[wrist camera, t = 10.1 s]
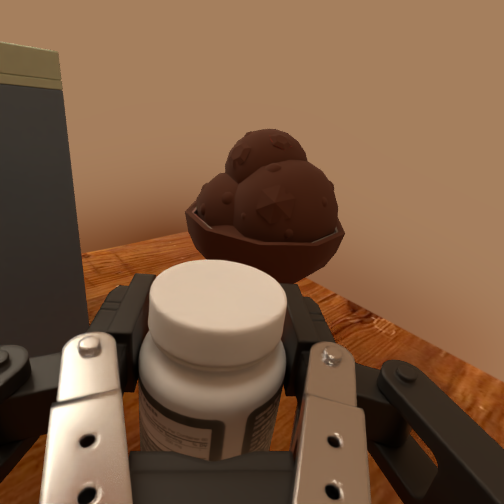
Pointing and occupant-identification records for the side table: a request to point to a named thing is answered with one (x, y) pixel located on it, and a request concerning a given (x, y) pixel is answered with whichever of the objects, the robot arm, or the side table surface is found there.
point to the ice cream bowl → (268, 210)
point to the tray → (29, 66)
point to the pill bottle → (211, 360)
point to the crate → (38, 225)
